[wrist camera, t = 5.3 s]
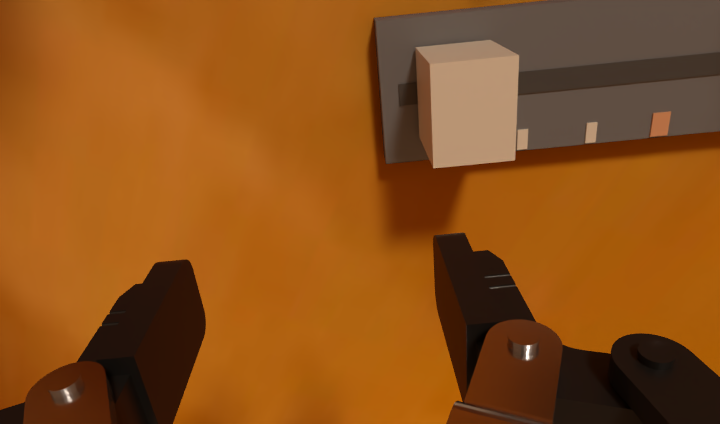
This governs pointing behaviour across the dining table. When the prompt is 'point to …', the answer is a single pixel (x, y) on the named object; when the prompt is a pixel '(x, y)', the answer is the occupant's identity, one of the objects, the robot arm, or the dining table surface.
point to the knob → (467, 102)
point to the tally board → (569, 69)
